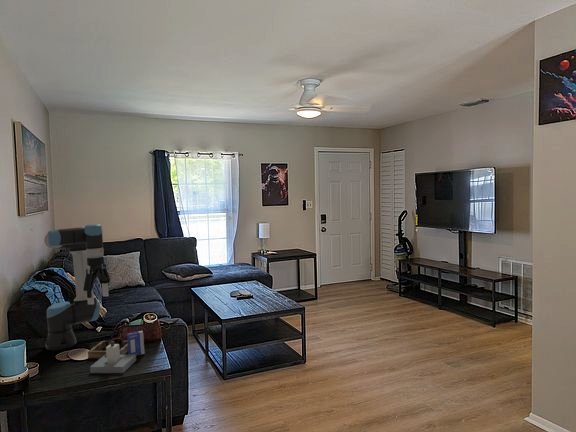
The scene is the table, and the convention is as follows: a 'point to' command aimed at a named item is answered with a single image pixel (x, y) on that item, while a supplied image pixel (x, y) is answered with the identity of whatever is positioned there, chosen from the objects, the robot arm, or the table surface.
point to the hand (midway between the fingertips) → (98, 300)
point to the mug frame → (98, 353)
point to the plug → (113, 353)
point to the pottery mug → (116, 342)
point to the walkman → (135, 343)
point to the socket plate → (113, 365)
